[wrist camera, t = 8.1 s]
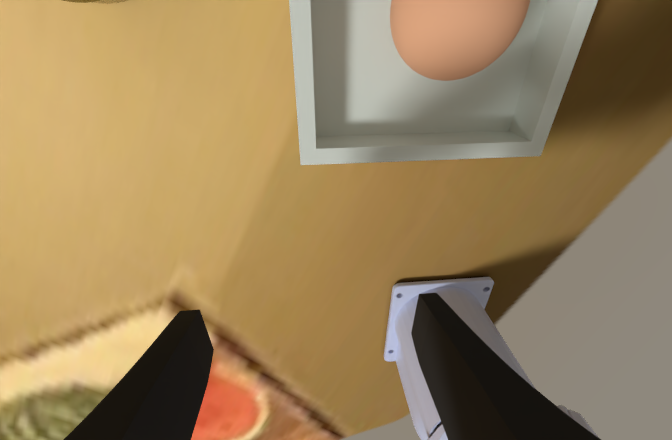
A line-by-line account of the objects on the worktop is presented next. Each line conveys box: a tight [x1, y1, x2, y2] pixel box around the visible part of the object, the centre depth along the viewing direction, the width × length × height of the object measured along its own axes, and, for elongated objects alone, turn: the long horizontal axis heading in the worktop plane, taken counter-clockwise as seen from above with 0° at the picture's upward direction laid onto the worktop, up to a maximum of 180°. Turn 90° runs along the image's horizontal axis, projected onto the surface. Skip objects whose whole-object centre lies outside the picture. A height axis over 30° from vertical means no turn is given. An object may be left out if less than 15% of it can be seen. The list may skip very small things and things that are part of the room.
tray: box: [289, 0, 598, 165], centre depth 13 cm, size 13×13×2 cm
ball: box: [390, 0, 530, 81], centre depth 12 cm, size 5×5×5 cm
